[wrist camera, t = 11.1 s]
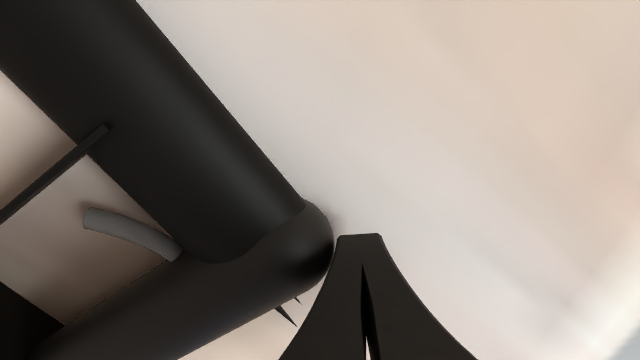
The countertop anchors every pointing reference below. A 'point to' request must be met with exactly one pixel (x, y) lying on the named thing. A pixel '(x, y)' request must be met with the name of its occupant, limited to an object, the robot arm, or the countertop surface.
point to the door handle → (154, 188)
